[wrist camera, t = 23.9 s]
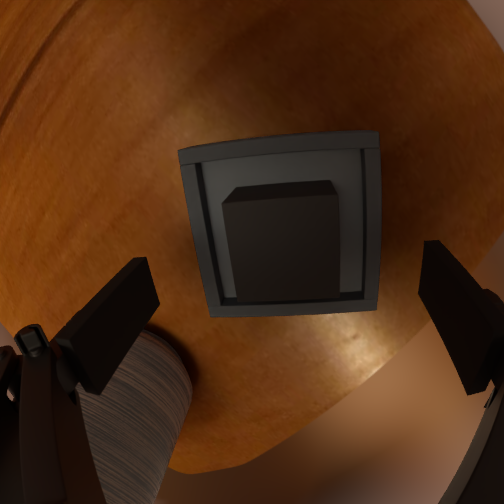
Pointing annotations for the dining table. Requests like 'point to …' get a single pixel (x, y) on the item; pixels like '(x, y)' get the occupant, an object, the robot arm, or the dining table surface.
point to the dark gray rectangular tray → (283, 171)
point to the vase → (137, 420)
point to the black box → (284, 241)
